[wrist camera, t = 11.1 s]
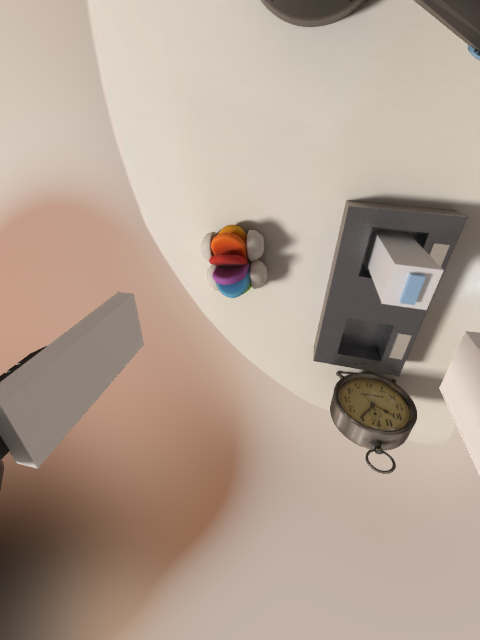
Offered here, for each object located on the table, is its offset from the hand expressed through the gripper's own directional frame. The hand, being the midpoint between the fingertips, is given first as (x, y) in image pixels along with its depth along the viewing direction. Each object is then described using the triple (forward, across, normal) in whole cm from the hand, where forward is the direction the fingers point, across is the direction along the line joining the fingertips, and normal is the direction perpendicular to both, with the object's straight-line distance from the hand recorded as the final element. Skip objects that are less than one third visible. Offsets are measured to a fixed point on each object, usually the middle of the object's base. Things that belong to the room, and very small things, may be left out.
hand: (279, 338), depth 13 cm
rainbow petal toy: (+30, -9, -8) cm, 33 cm away
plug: (+29, +10, -5) cm, 32 cm away
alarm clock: (+30, +12, -27) cm, 42 cm away
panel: (+30, +10, -11) cm, 33 cm away
